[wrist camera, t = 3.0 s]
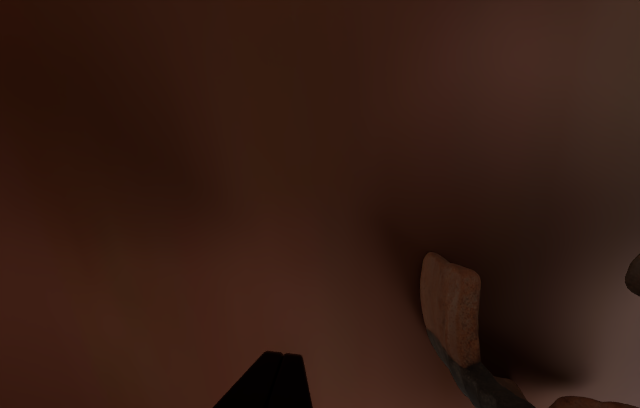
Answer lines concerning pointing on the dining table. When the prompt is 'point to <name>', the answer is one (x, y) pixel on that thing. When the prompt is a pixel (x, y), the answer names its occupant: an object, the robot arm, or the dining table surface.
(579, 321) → the dining table surface
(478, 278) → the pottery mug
